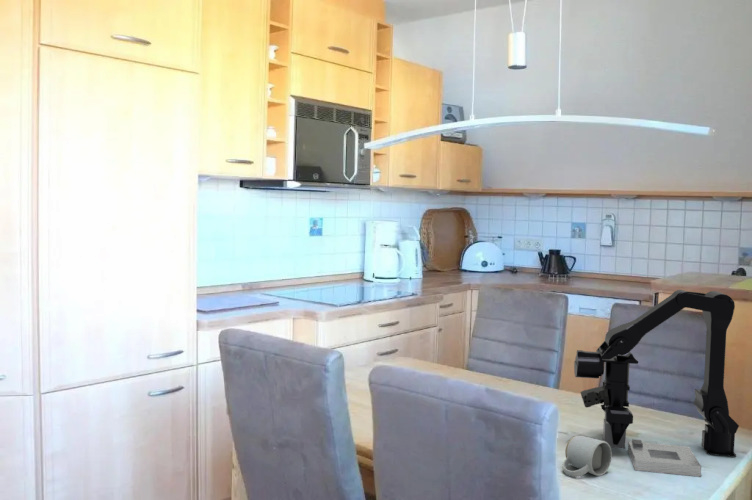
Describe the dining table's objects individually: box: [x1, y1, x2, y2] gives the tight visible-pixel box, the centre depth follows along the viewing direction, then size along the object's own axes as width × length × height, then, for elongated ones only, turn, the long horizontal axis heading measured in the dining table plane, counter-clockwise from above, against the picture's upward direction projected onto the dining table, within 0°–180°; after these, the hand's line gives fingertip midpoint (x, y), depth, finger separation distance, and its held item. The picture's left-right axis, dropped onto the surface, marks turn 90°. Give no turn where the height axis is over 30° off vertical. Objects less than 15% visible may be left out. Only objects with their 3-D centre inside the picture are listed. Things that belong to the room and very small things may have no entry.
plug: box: [602, 418, 627, 450], centre depth 178 cm, size 5×4×7 cm
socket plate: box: [627, 439, 702, 478], centre depth 166 cm, size 14×13×3 cm
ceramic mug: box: [562, 435, 613, 478], centre depth 160 cm, size 11×8×8 cm
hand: (614, 439), depth 178 cm, fingers open, 6 cm apart
